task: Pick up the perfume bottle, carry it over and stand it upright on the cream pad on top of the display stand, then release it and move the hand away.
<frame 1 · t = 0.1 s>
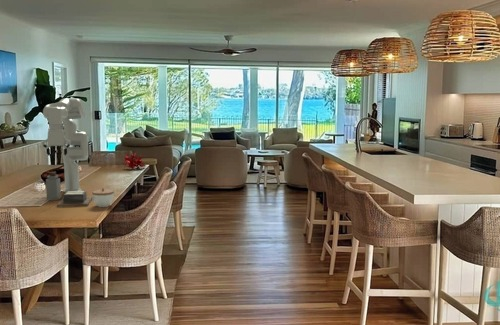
hand: (57, 155, 297), 31 cm above the table, tool pointing down, fingers open, 9 cm apart
sculptural form: (132, 169, 454), on the table
display stand: (75, 203, 306), on the table
perfume bottle: (54, 199, 317), on the table
lidded bowl: (103, 206, 299), on the table
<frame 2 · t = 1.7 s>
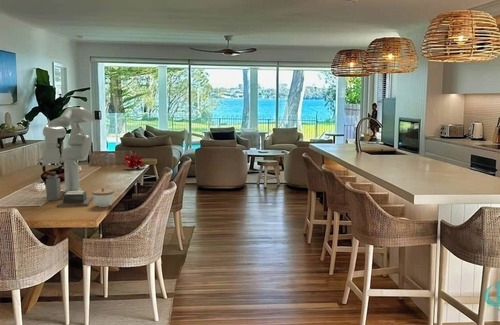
hand: (52, 172, 315), 18 cm above the table, tool pointing down, fingers open, 9 cm apart
nothing on the table moved.
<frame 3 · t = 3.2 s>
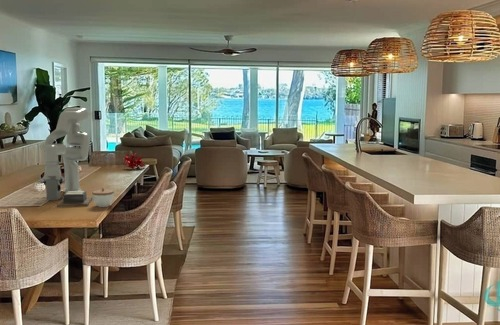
hand: (53, 190, 317), 6 cm above the table, tool pointing down, fingers closed on perfume bottle, 5 cm apart
perfume bottle: (53, 199, 317), on the table, touching gripper
everything else where it was.
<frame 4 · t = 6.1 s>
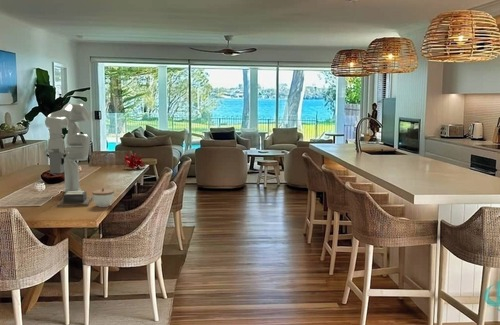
hand: (57, 164, 311), 24 cm above the table, tool pointing down, fingers closed on perfume bottle, 5 cm apart
perfume bottle: (57, 172, 312), point 18 cm above the table, touching gripper
everything else where it was.
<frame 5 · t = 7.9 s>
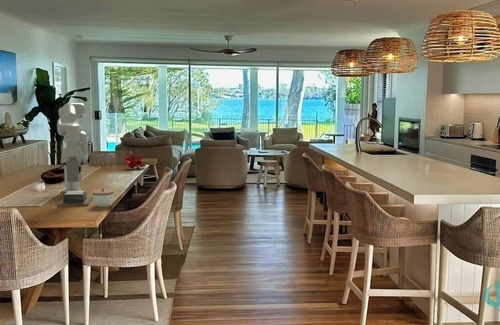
hand: (74, 172, 303), 20 cm above the table, tool pointing down, fingers closed on perfume bottle, 5 cm apart
perfume bottle: (74, 181, 304), point 14 cm above the table, touching gripper
everything else where it was.
when the fingers open (14 cm above the table, at t = 9.3 s): perfume bottle drops 1 cm, resting on display stand.
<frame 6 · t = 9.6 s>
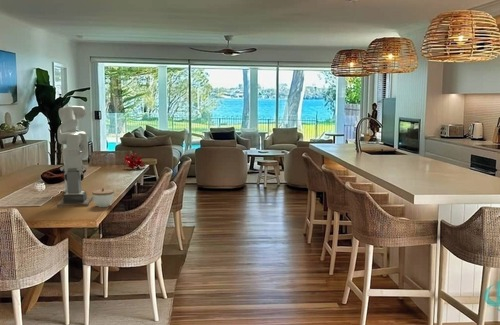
hand: (74, 180, 304), 15 cm above the table, tool pointing down, fingers open, 8 cm apart
perfume bottle: (74, 192, 305), point 7 cm above the table, touching display stand
everything else where it was.
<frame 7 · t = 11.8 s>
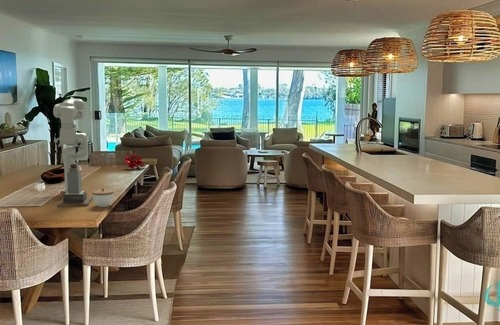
hand: (68, 152, 310), 31 cm above the table, tool pointing down, fingers open, 9 cm apart
nothing on the table moved.
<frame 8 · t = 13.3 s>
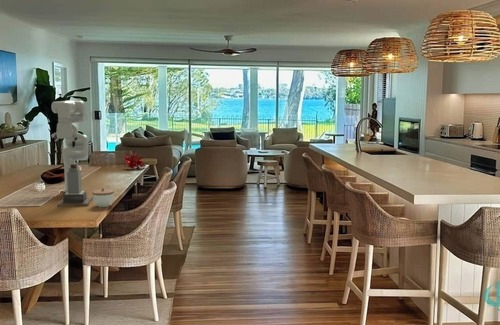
hand: (65, 147, 313), 34 cm above the table, tool pointing down, fingers open, 9 cm apart
nothing on the table moved.
at the end: perfume bottle 0.1 cm off-centre on the display stand, point 6.6 cm above the display stand's base; perfume bottle tilted 0°; the gripper is holding nothing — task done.
